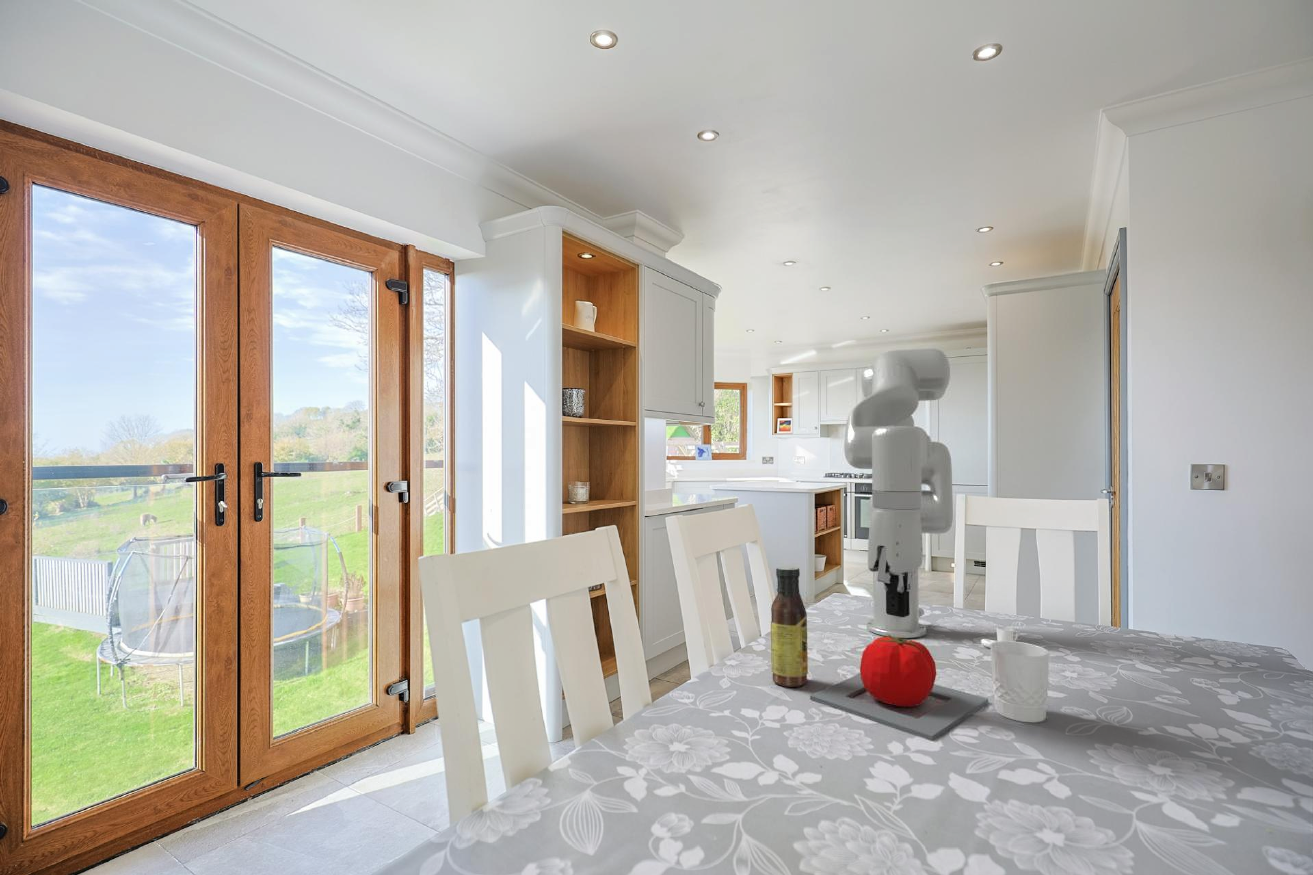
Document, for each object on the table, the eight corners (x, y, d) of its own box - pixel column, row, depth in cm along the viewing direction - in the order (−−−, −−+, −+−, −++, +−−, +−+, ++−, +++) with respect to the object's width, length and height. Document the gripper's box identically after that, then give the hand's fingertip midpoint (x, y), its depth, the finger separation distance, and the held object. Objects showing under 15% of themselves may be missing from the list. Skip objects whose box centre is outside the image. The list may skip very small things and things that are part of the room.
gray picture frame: (873, 670, 117) (873, 667, 117) (988, 702, 102) (988, 698, 102) (810, 699, 104) (810, 695, 104) (932, 740, 89) (931, 736, 89)
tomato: (888, 719, 96) (887, 650, 96) (846, 692, 107) (845, 630, 107) (955, 711, 99) (954, 644, 99) (907, 685, 110) (906, 625, 110)
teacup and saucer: (983, 652, 129) (983, 631, 129) (976, 641, 137) (975, 621, 137) (1032, 656, 127) (1031, 635, 127) (1022, 644, 134) (1021, 625, 134)
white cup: (1034, 704, 101) (1033, 641, 102) (1060, 726, 94) (1059, 657, 94) (982, 703, 102) (981, 640, 102) (1004, 723, 94) (1003, 655, 95)
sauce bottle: (811, 689, 108) (810, 571, 109) (774, 688, 108) (773, 571, 109) (803, 675, 115) (802, 564, 115) (768, 675, 115) (768, 564, 115)
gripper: (897, 498, 111) (898, 603, 111) (851, 503, 101) (852, 619, 101) (940, 500, 106) (941, 611, 106) (896, 506, 96) (897, 628, 96)
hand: (897, 614), depth 103 cm, fingers closed
